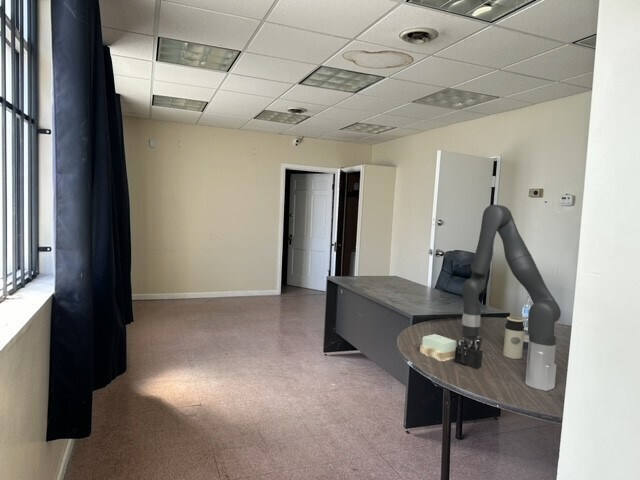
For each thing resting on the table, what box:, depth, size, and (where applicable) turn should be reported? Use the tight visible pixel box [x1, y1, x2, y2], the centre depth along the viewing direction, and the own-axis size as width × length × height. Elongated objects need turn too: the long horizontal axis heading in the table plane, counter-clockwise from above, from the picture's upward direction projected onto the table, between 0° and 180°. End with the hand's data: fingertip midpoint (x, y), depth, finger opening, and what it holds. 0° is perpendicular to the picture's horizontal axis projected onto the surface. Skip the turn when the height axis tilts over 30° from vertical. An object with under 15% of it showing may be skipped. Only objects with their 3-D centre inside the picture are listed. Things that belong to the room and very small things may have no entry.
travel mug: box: [502, 316, 525, 360], centre depth 195 cm, size 8×8×18 cm
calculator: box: [523, 334, 529, 350], centre depth 217 cm, size 11×4×15 cm
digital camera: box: [454, 345, 483, 370], centre depth 183 cm, size 10×5×7 cm, turn 49°
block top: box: [421, 333, 458, 353], centre depth 193 cm, size 12×9×4 cm
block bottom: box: [419, 344, 455, 362], centre depth 193 cm, size 13×11×4 cm
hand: (468, 361), depth 183 cm, fingers closed on digital camera, 5 cm apart
